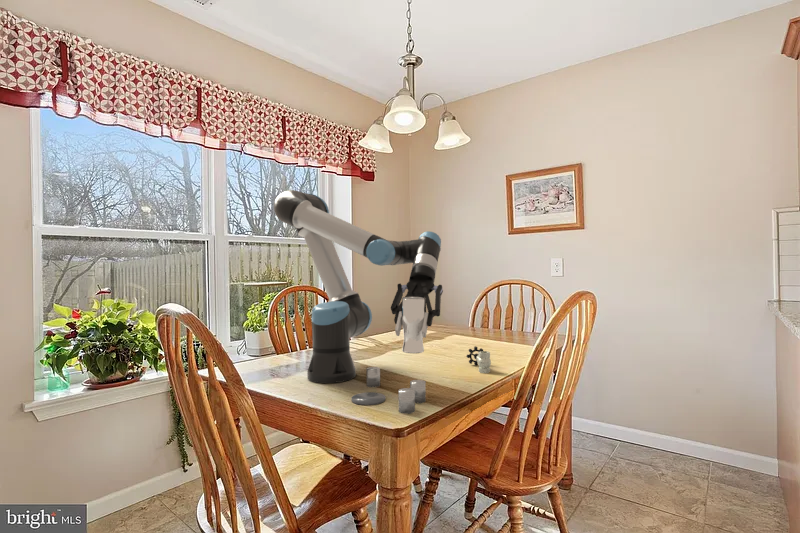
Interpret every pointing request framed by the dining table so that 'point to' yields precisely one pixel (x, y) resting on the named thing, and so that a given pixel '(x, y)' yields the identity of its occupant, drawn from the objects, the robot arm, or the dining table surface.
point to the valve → (480, 359)
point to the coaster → (368, 398)
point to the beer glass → (413, 323)
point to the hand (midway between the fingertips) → (410, 333)
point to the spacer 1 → (373, 376)
